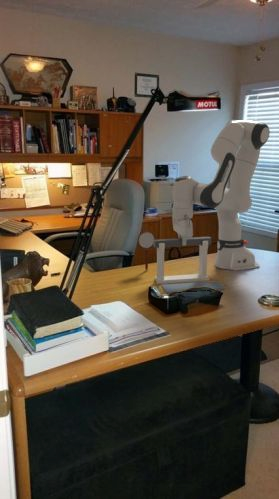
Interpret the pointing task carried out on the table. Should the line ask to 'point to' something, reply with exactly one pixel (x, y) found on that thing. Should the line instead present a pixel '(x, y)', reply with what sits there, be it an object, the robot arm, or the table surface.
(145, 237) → the magnifying glass
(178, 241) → the rail
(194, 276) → the frame
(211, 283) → the mat
